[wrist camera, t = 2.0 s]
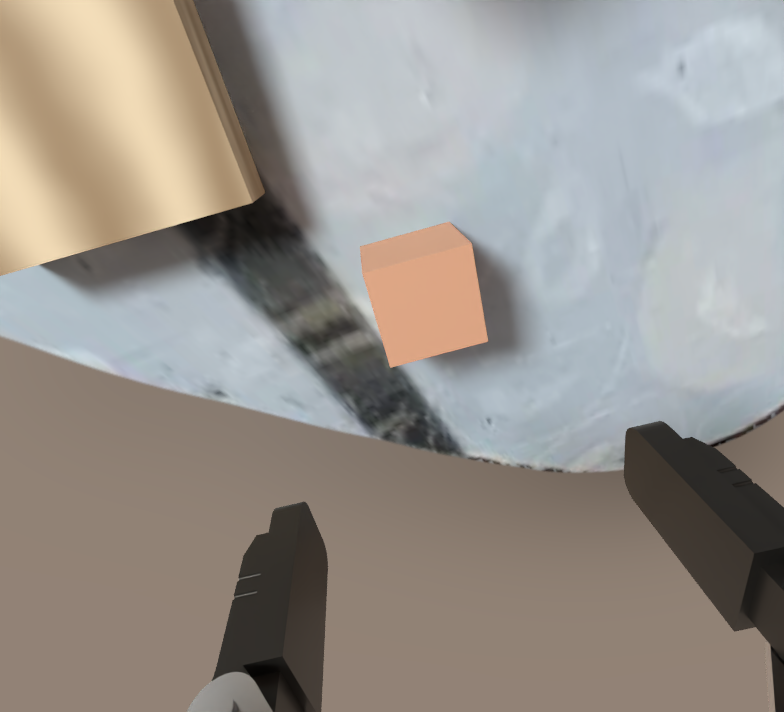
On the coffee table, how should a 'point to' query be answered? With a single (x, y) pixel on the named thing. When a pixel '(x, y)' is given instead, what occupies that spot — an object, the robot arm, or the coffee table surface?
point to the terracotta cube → (424, 293)
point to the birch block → (111, 126)
